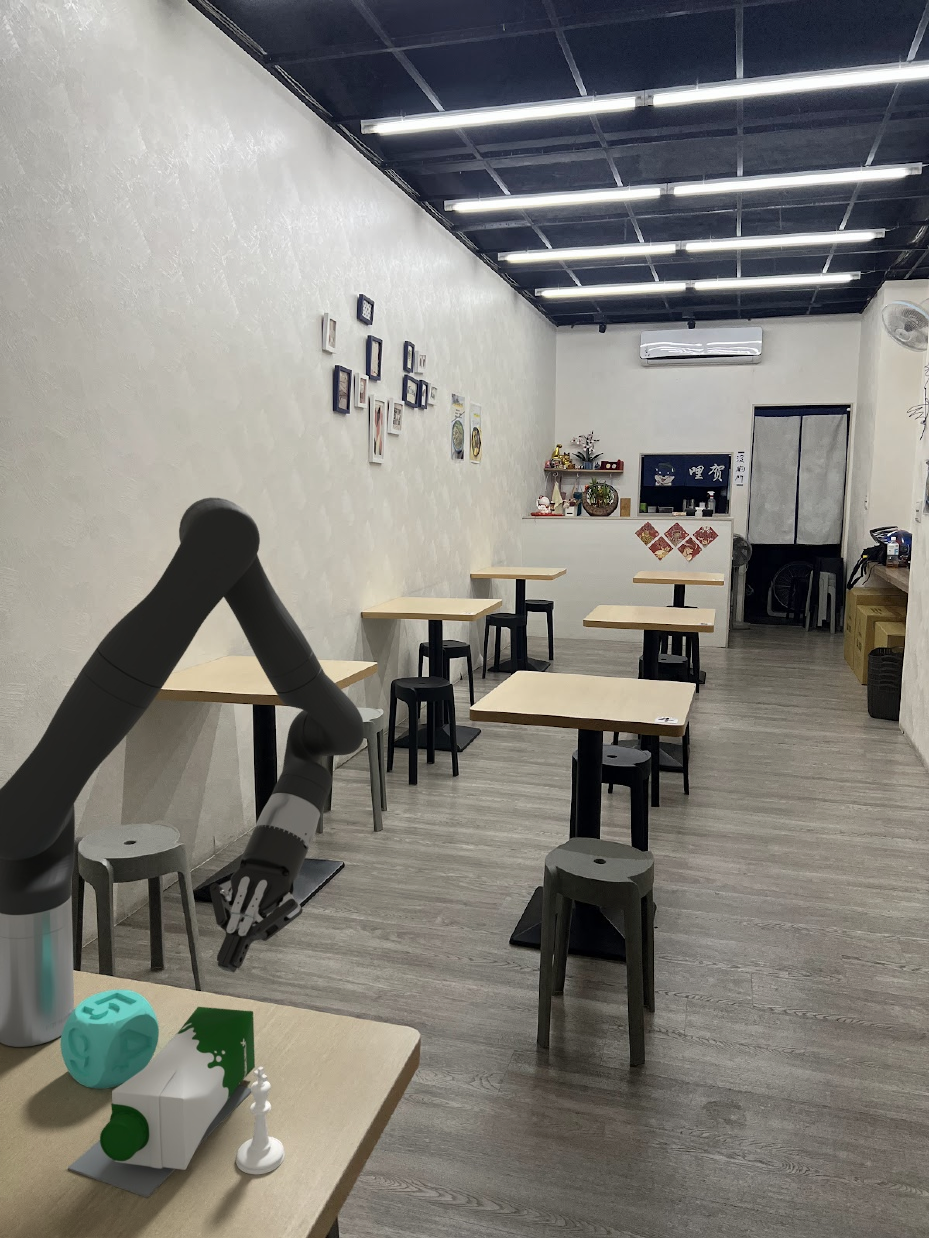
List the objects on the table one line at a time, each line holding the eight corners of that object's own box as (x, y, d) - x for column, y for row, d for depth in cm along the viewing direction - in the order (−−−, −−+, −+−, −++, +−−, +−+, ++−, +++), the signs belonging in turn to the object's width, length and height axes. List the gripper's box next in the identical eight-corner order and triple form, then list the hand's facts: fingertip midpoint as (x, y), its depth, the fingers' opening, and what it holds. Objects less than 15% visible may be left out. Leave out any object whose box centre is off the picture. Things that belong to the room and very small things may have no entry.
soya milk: (190, 998, 108) (94, 1097, 89) (261, 1004, 107) (179, 1106, 87) (193, 1068, 109) (97, 1181, 90) (263, 1075, 108) (182, 1192, 88)
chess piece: (264, 1134, 98) (264, 1048, 96) (294, 1156, 94) (294, 1066, 93) (226, 1159, 94) (226, 1069, 93) (256, 1182, 91) (256, 1089, 90)
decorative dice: (160, 1062, 110) (159, 1000, 109) (105, 1098, 103) (103, 1032, 102) (116, 1042, 114) (115, 982, 113) (60, 1075, 107) (58, 1011, 106)
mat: (67, 1169, 92) (67, 1167, 92) (182, 1069, 108) (182, 1068, 108) (147, 1197, 88) (147, 1195, 88) (252, 1090, 105) (252, 1088, 105)
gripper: (227, 815, 117) (165, 946, 107) (316, 831, 112) (261, 969, 102) (250, 842, 122) (193, 969, 112) (336, 857, 118) (285, 991, 107)
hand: (226, 969), depth 107 cm, fingers closed
